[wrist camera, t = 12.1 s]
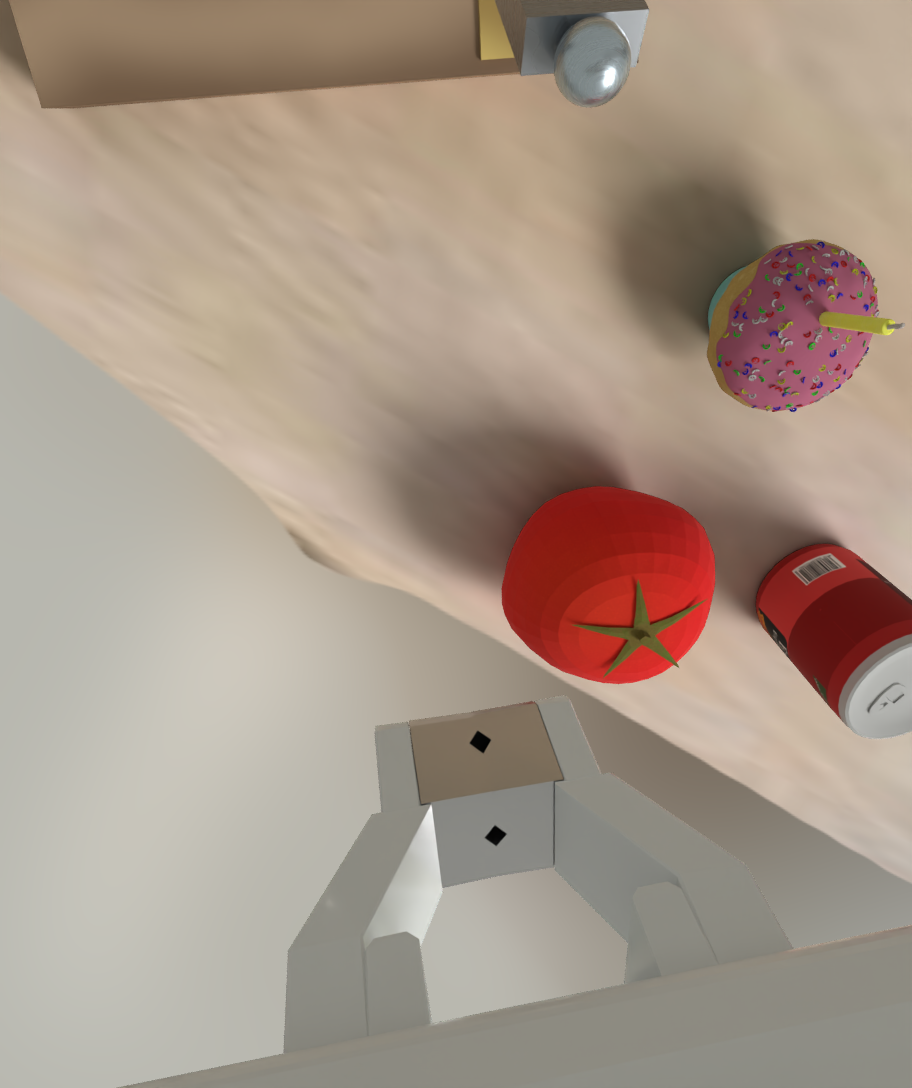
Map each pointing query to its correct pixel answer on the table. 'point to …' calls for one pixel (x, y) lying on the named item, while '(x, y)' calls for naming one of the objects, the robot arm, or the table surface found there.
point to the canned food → (844, 635)
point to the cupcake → (793, 325)
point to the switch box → (250, 46)
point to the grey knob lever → (576, 43)
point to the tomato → (609, 584)
